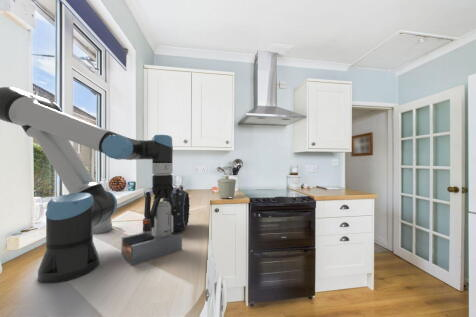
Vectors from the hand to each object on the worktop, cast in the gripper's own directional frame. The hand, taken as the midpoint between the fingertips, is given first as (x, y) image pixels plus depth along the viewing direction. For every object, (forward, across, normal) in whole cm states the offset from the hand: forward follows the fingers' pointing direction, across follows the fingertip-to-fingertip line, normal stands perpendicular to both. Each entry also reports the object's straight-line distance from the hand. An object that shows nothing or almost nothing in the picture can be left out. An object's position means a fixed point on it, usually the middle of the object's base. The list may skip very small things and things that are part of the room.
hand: (162, 233), depth 83 cm
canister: (+6, +94, +70) cm, 117 cm away
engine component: (+6, -12, +45) cm, 47 cm away
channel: (+6, -4, 0) cm, 7 cm away
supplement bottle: (+6, +1, +15) cm, 16 cm away
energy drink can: (+3, 0, 0) cm, 3 cm away
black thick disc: (+6, +16, +18) cm, 25 cm away
